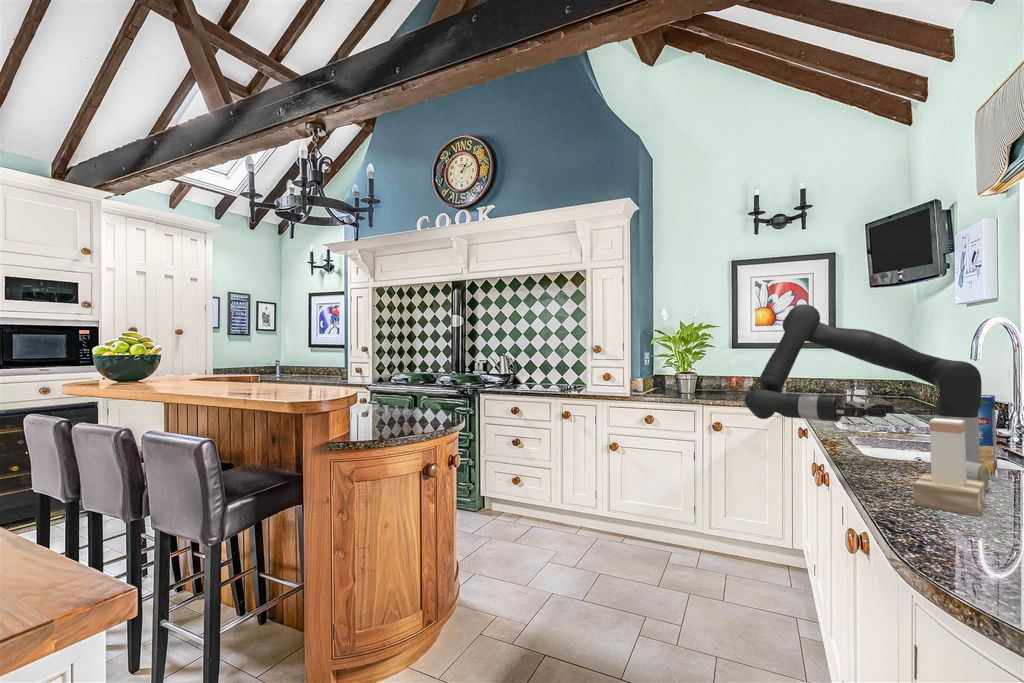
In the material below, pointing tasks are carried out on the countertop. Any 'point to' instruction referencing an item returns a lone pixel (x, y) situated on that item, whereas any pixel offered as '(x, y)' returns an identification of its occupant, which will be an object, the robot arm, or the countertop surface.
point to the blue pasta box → (987, 432)
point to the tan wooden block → (950, 495)
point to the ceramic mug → (977, 472)
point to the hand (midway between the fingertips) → (889, 411)
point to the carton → (948, 452)
